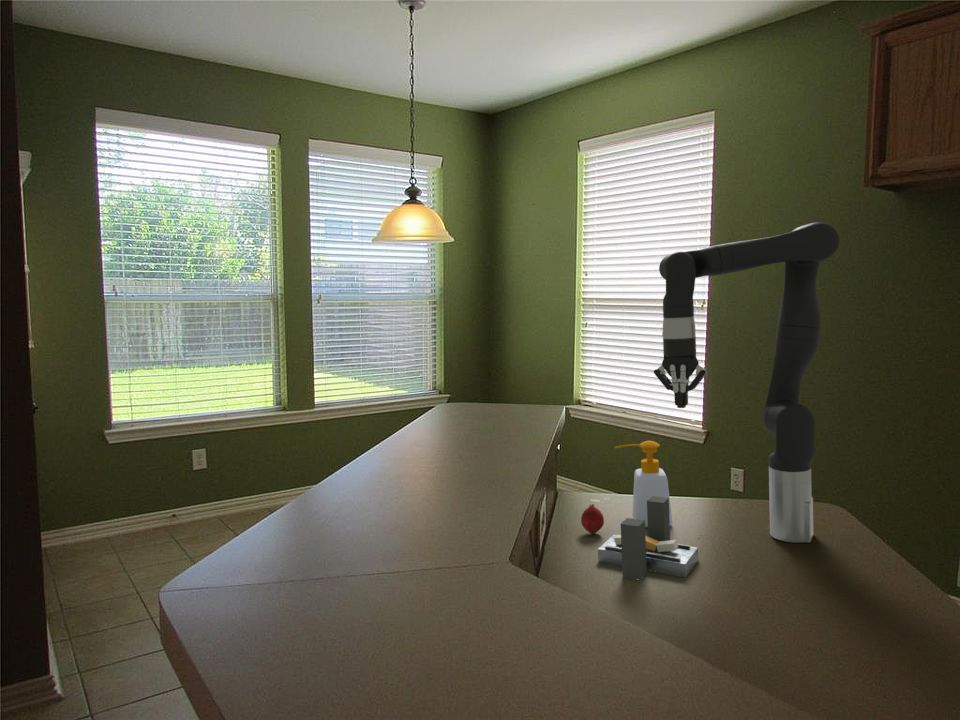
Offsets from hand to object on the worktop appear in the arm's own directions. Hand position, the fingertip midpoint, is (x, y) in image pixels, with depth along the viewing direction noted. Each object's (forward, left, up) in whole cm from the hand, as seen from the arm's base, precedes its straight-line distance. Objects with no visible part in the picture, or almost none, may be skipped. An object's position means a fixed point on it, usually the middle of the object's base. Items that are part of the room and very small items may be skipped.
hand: (681, 407), depth 155 cm
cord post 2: (+4, +8, -33) cm, 34 cm away
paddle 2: (-1, +17, -30) cm, 34 cm away
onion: (+22, +6, -33) cm, 40 cm away
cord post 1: (+4, +25, -33) cm, 42 cm away
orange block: (+4, +17, -30) cm, 34 cm away
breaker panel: (+4, +17, -33) cm, 37 cm away
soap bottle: (+13, -7, -33) cm, 36 cm away
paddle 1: (+9, +17, -30) cm, 35 cm away
